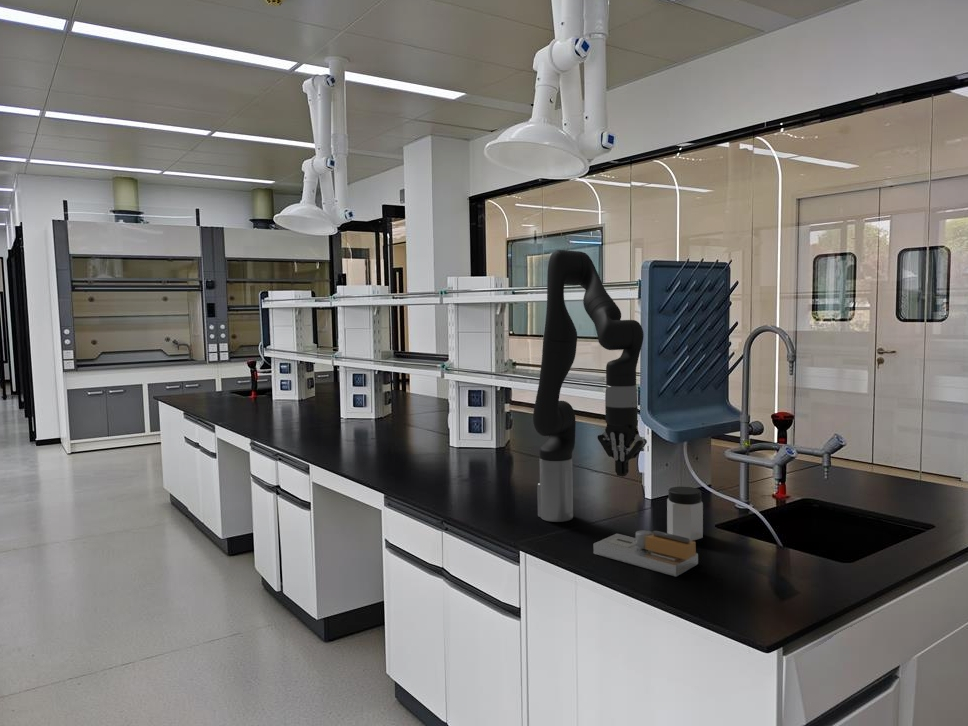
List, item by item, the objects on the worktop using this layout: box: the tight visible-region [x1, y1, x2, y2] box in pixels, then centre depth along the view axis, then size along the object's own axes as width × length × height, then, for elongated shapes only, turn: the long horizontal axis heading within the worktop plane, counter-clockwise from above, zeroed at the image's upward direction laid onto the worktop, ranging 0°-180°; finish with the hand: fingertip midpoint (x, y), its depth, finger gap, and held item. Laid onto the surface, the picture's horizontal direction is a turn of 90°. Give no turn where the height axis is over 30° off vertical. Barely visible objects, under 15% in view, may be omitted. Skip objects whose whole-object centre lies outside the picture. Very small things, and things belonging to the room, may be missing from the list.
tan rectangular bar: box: [635, 529, 697, 560], centre depth 158 cm, size 14×4×4 cm, turn 45°
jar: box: [666, 486, 704, 542], centre depth 177 cm, size 9×8×12 cm
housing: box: [593, 533, 699, 578], centre depth 162 cm, size 22×10×3 cm, turn 45°
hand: (622, 475), depth 165 cm, fingers closed
